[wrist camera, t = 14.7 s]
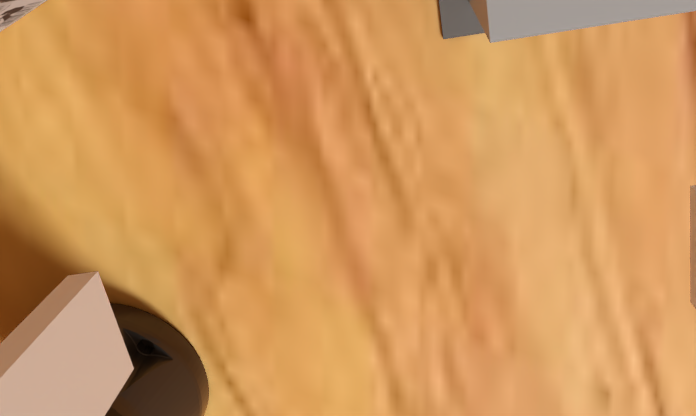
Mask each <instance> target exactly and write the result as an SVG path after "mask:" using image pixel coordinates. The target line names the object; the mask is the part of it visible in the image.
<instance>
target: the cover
mask: <svg viewBox="0 0 696 416" xmlns="http://www.w3.org/2000/svg"><path fill="white" fill-rule="evenodd" d="M469 3H470V5H471V7H472V9H473V11H474V13H475V15H476V17H477V18H478V20H479V22H480V24H481V26H482V28H483V30H484V32H485V34H486V35H487V37H488V39H489V41H490V43H491V42H498V41H504V40H511V39H517V38H524V37H530V36H537V35H543V34H550V33H556V32H562V31H569V30H575V29H582V28H588V27H595V26H601V25H608V24H614V23H620V22H627V21H633V20H640V19H646V18H653V17H659V16H666V15H672V14H679V13H685V12H691V11H696V0H469Z"/></svg>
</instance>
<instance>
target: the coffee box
mask: <svg viewBox="0 0 696 416" xmlns="http://www.w3.org/2000/svg"><path fill="white" fill-rule="evenodd" d="M45 1H47V0H0V32H1V31H2V30H4V29H5V28H7V27H8V26H10V25H11V24H13V23H14V22H16V21H17V20H19V19H20V18H22V17H23V16H25V15H26V14H28V13H29V12H31V11H32V10H34V9H35V8H36V7H38V6H39V5H41V4H42V3H44V2H45Z"/></svg>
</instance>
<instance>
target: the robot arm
mask: <svg viewBox="0 0 696 416" xmlns="http://www.w3.org/2000/svg"><path fill="white" fill-rule="evenodd" d="M690 301H691V303H692V305H693V306H694V307H695V308H696V185H694V186H690ZM208 397H209V387H208V380H207V376H206V372H205V369H204V367H203V365H202V362H201V360H200V358H199V357H198V355H197V353H196V352H195V350H194V349H193V348H192V346H191V345H190V344H189V343H188V341H187V340H186V339H185V338H184V337H183V336H182V335H181V334H180V333H179V332H177V331H176V330H175V329H174V328H173V327H171V326H170V325H168V324H167V323H166V322H164V321H162V320H161V319H159V318H157V317H155V316H154V315H151V314H149V313H147V312H145V311H142V310H140V309H137V308H133V307H130V306H125V305H121V304H113V303H110V302H109V300H108V297H107V294H106V292H105V289H104V286H103V284H102V281H101V278H100V275H99V273H98V271H96V272H89V273H82V274H75V275H68V276H67V277H66V278H65V279H64V280H63V281H62V282H61V283H60V284H59V285H58V286H57V287H56V288H55V289H54V290H53V291H52V292H51V293H50V294H49V295H48V296H47V297H46V298H45V299H44V300H43V301H42V302H41V303H40V304H39V305H38V306H37V307H36V308H35V309H34V310H33V311H32V312H31V313H30V314H29V315H28V316H27V317H26V318H25V319H24V320H23V321H22V322H21V323H20V324H19V325H18V326H17V327H16V328H15V329H14V330H13V331H12V332H11V333H10V334H9V335H8V336H7V337H6V338H5V339H4V340H3V341H2V342H1V343H0V416H204V413H205V411H206V408H207V404H208Z"/></svg>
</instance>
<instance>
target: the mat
mask: <svg viewBox="0 0 696 416" xmlns="http://www.w3.org/2000/svg"><path fill="white" fill-rule="evenodd" d="M439 6H440V15H441V23H442V32H443V39H448V38H454V37H460V36H467V35H473V34H479V33H485V32H484V30H483V28H482V26H481V24H480V22H479V20H478V18H477V17H476V15H475V13H474V11H473V9H472V7H471V5H470V3H469V0H439Z"/></svg>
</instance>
